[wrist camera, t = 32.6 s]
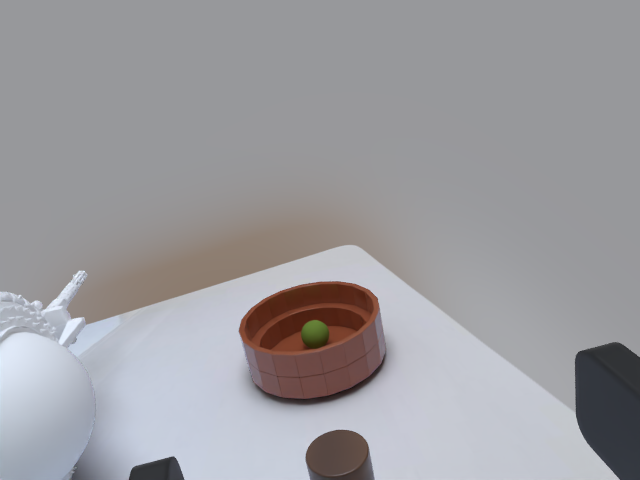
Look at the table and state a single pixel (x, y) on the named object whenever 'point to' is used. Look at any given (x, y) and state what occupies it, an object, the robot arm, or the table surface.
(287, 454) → the table surface
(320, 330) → the ball
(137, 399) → the table surface
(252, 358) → the bowl
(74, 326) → the tracked sphere vehicle
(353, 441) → the stick
